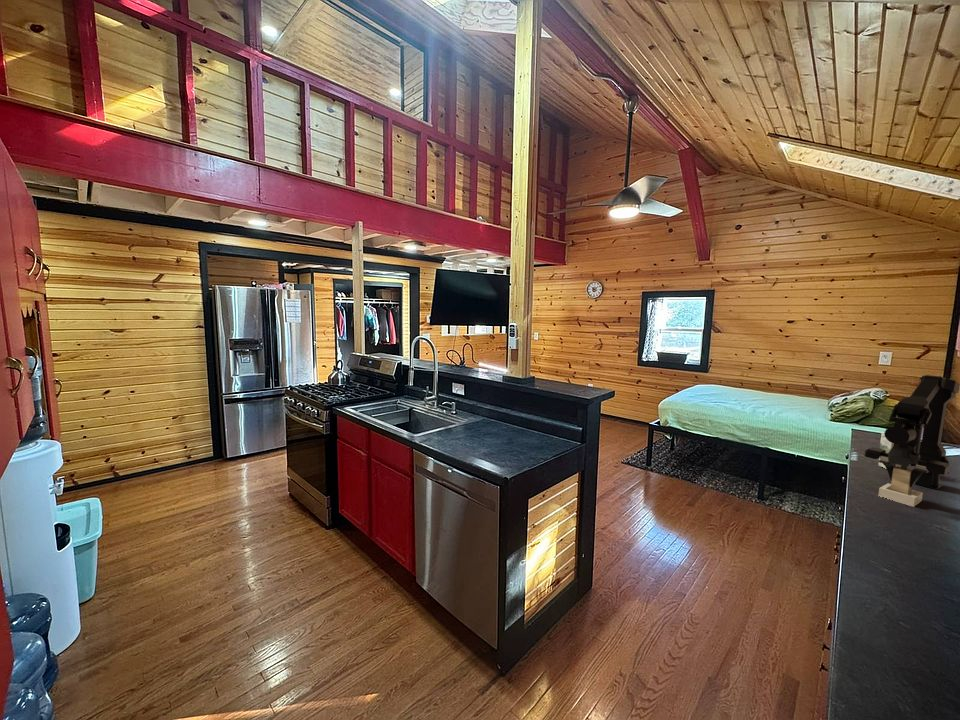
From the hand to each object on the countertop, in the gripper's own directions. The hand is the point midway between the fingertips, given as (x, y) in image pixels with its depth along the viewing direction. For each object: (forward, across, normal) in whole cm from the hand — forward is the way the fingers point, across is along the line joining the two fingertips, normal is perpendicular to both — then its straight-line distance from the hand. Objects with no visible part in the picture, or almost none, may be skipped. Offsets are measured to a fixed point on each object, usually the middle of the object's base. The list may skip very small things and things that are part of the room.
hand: (901, 484), depth 133 cm
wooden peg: (+2, 0, 0) cm, 2 cm away
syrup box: (+5, -11, +35) cm, 37 cm away
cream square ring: (+5, 0, 0) cm, 5 cm away
